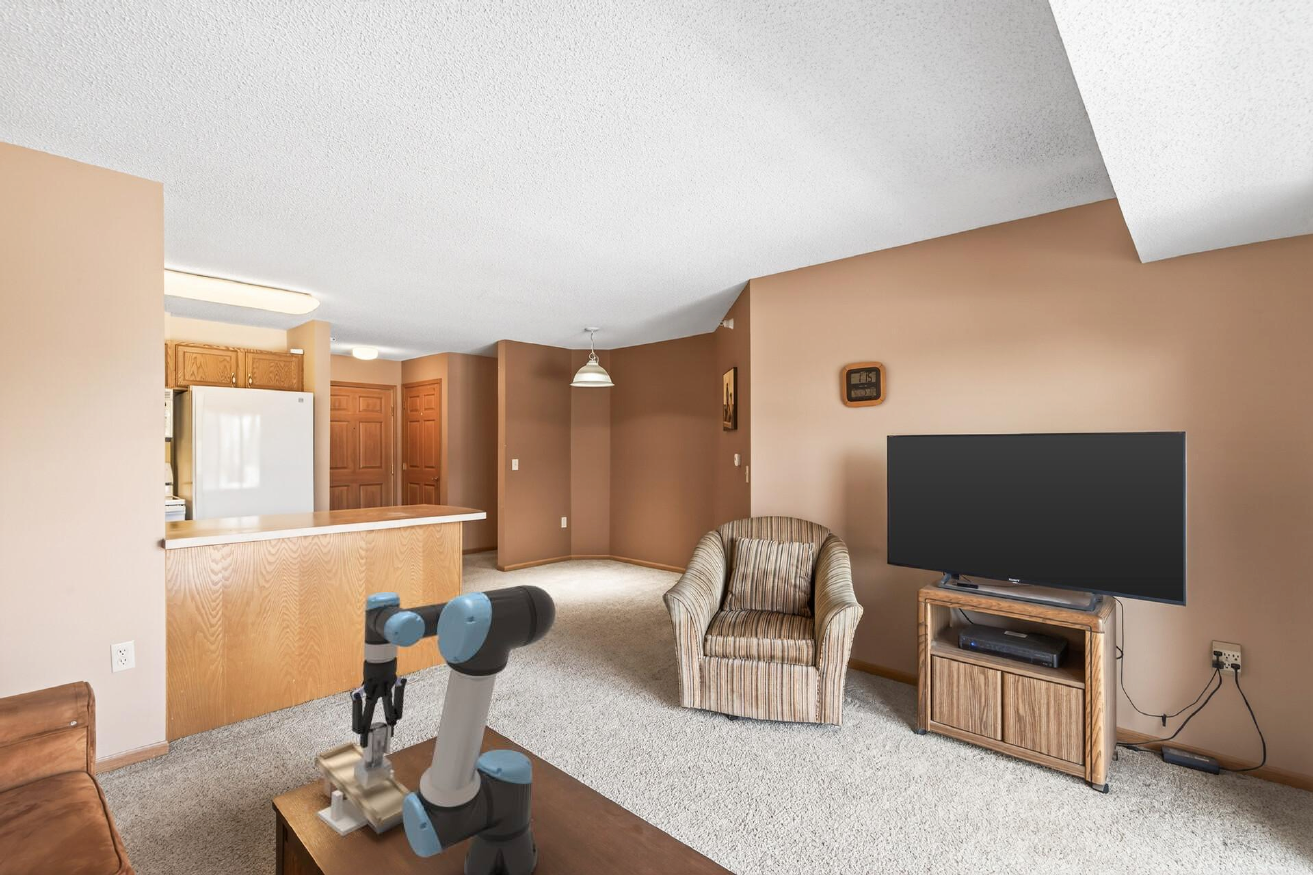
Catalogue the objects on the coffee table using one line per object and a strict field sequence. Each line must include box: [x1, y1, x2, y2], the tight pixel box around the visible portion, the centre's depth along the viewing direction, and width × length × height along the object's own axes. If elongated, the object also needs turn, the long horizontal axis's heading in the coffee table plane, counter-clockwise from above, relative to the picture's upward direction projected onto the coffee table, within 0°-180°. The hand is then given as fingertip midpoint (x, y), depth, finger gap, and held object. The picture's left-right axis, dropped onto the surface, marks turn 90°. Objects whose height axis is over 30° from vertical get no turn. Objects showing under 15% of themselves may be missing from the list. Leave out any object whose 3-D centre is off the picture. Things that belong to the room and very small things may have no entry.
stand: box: [317, 768, 395, 837], centre depth 149 cm, size 20×16×7 cm
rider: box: [353, 721, 393, 789], centre depth 144 cm, size 6×6×13 cm
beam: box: [314, 741, 412, 835], centre depth 147 cm, size 30×11×5 cm, turn 54°
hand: (376, 755), depth 144 cm, fingers closed on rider, 4 cm apart
